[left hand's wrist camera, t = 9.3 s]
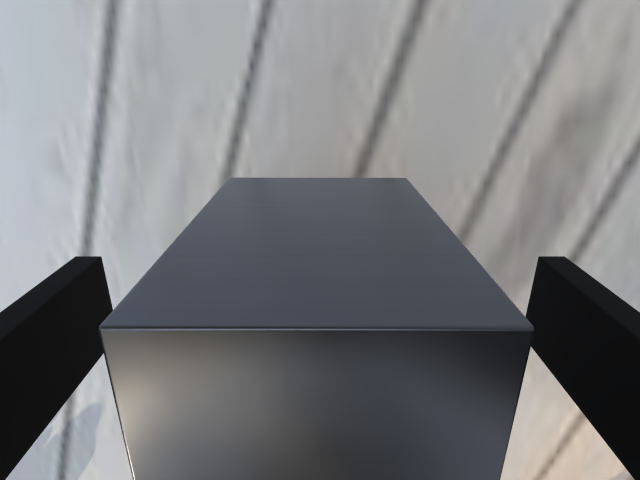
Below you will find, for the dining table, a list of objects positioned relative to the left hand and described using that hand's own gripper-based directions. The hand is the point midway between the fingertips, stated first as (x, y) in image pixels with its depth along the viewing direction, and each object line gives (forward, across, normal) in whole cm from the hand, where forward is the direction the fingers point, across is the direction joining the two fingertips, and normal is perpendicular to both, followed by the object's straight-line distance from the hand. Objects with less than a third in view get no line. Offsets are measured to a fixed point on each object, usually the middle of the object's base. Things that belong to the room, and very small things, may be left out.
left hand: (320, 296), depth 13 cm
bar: (+2, 0, -8) cm, 9 cm away
